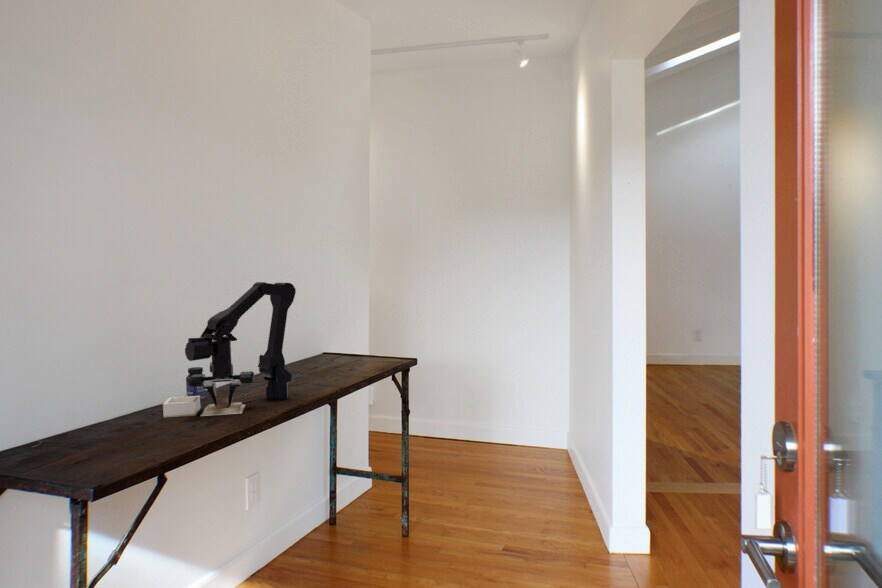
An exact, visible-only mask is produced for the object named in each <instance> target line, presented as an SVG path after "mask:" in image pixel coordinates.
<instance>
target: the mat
mask: <svg viewBox="0 0 882 588" xmlns="http://www.w3.org/2000/svg"><path fill="white" fill-rule="evenodd" d="M207 407H208V406H206V407H204V409H203V411H202V413H201V414H200V417H209V416H225V415H236V414H237V415H238V414H242V413H243V411H244V410H245V407H246V404H243V403H242V406H241V409H240V411H239V413H227V414H213V415H204V411H205V410H206V408H207Z"/></svg>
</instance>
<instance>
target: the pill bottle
mask: <svg viewBox="0 0 882 588" xmlns="http://www.w3.org/2000/svg"><path fill="white" fill-rule="evenodd" d="M187 373H188V375H187V376H186V377H185V385H186V396H200V402H201V401H205V400H206V399H207V389H204V388H203V386H204V384H203V383H202V384H201V385H200V386H193V387H190V386H189V379H190V378H191V377H192V376H193V375H196V374H203V373H204V368H203V367H201V366H198V367H197V366H196V367H195V366H194V367H189V368H187Z"/></svg>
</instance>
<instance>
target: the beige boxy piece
mask: <svg viewBox="0 0 882 588" xmlns="http://www.w3.org/2000/svg"><path fill="white" fill-rule="evenodd" d="M162 410H163V411H162V412H163V418H179V417H190V416H191V417H194V416H197V414H198V413H199V411H200V410H201V401H200V396H187V395H186V396H174V397H169V398H167V399H166V400H165V401H164V402H163V404H162Z"/></svg>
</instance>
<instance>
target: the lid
mask: <svg viewBox="0 0 882 588" xmlns="http://www.w3.org/2000/svg"><path fill="white" fill-rule="evenodd" d="M216 402H217V407H216V406H215V404H214V403H212V404H211V403H209V404H208V405H207V406H206V407H207V408H206V407H205V408H206V410H205V409H204V410H205V411H204V410H203V411H204V415H212V416H214V415H213V414H226V415H228V414H227V413H239V411H240V409H241V406H242V405H243V402H241V401H239V402H231V406H229V393H228V394H227V393H226V394H217V397H216Z"/></svg>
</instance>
